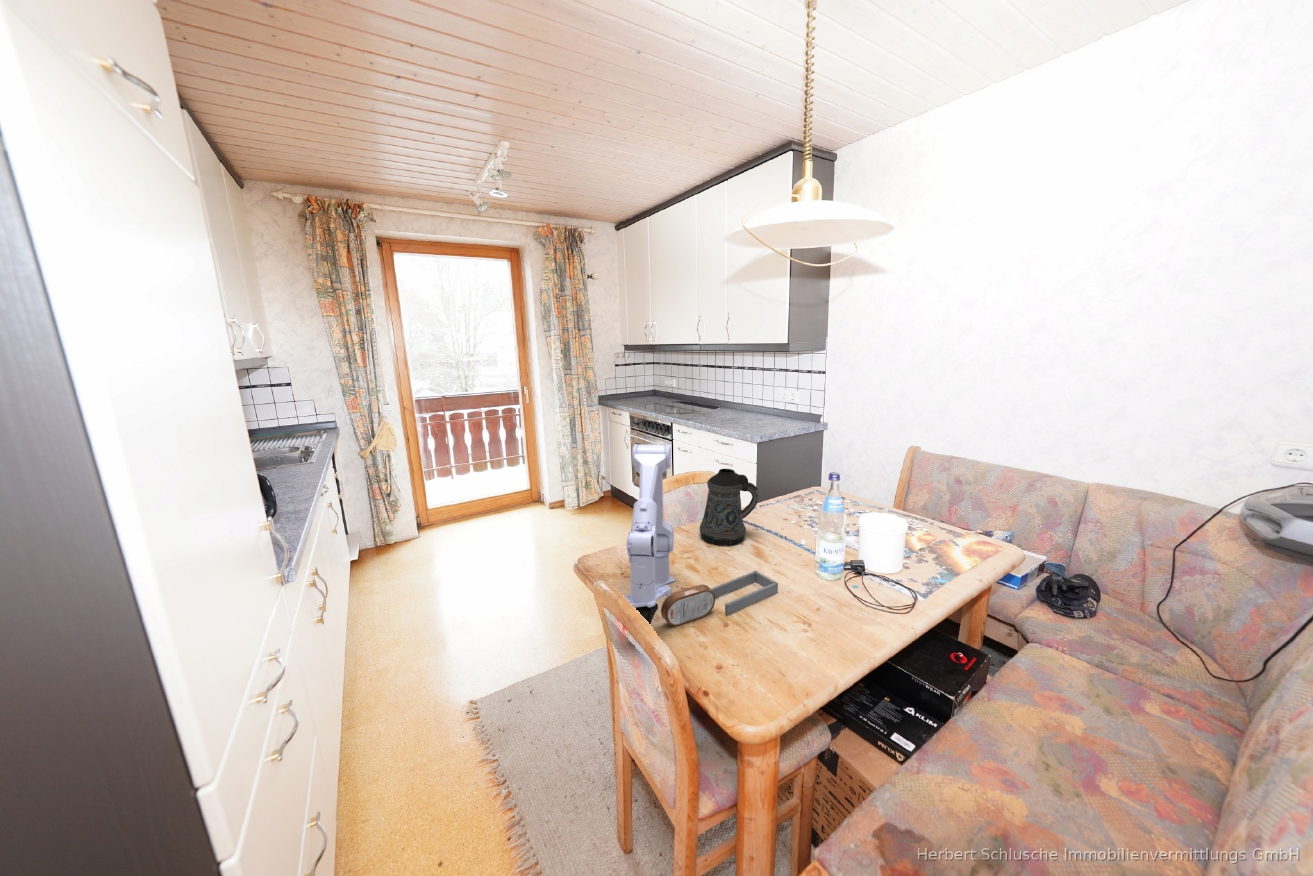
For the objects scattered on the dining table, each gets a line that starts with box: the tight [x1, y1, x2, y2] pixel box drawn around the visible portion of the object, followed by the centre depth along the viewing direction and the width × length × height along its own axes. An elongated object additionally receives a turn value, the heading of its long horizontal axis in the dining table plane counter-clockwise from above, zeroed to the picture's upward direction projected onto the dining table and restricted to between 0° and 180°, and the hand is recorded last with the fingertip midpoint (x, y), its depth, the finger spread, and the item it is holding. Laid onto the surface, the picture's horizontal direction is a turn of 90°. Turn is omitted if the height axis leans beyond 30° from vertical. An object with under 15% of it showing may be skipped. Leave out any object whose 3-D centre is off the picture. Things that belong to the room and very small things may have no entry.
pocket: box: [710, 570, 779, 616], centre depth 127 cm, size 9×19×3 cm, turn 123°
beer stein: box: [699, 468, 760, 547], centre depth 162 cm, size 16×19×25 cm
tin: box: [660, 584, 716, 627], centre depth 116 cm, size 15×3×8 cm, turn 117°
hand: (644, 630), depth 110 cm, fingers closed
